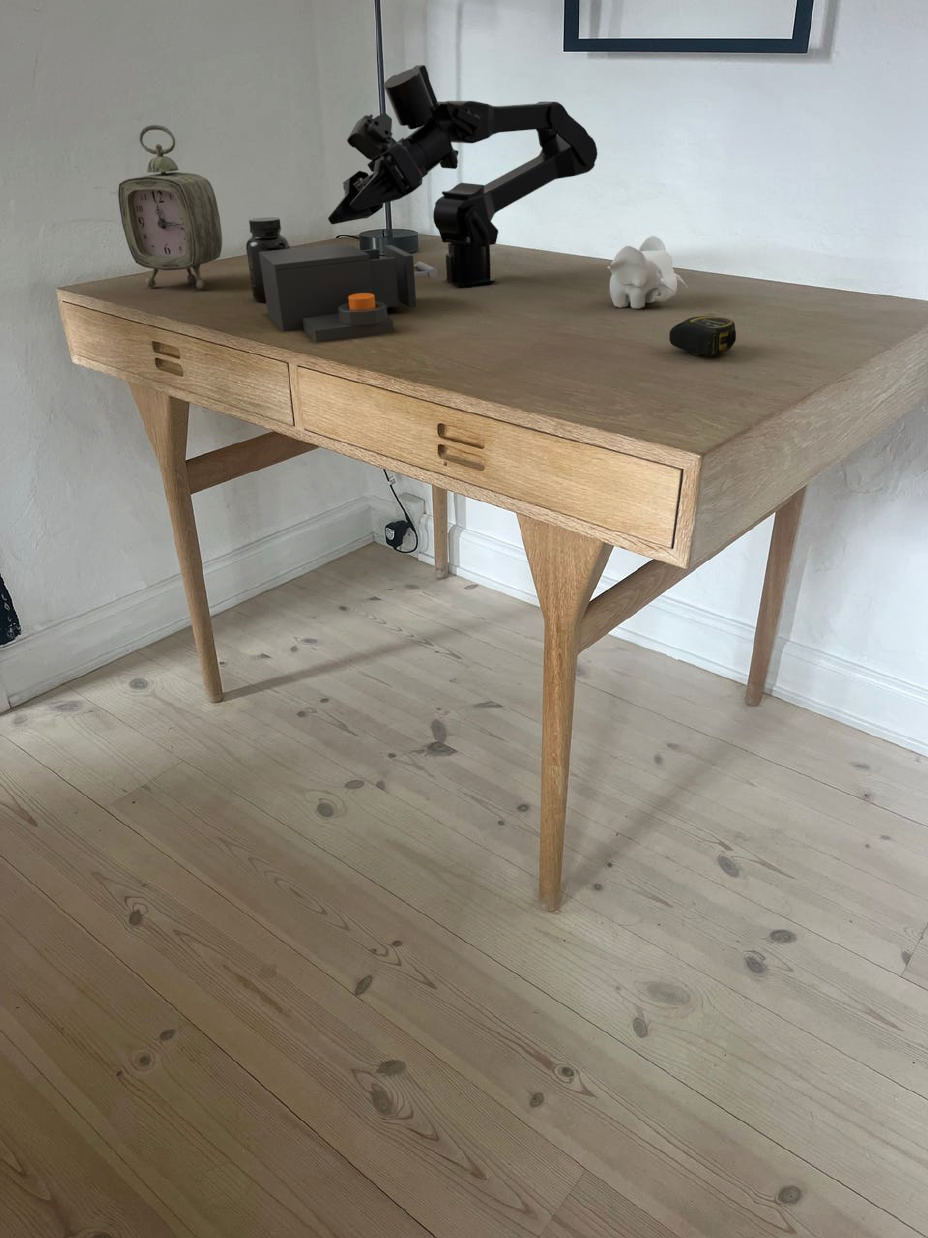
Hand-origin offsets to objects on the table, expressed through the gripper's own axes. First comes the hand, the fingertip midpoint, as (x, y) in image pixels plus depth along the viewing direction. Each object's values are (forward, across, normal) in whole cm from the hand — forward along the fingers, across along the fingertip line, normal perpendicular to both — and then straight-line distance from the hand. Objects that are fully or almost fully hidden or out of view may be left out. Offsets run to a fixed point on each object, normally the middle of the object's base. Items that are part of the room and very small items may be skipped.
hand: (340, 214), depth 135 cm
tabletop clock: (+15, -37, -5) cm, 41 cm away
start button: (+10, +12, +11) cm, 19 cm away
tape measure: (-9, +46, +36) cm, 59 cm away
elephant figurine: (-22, +22, +34) cm, 47 cm away
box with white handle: (+3, +1, +13) cm, 14 cm away
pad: (+13, +9, +12) cm, 20 cm away
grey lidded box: (+12, -1, +10) cm, 15 cm away
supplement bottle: (+10, -18, +5) cm, 21 cm away
